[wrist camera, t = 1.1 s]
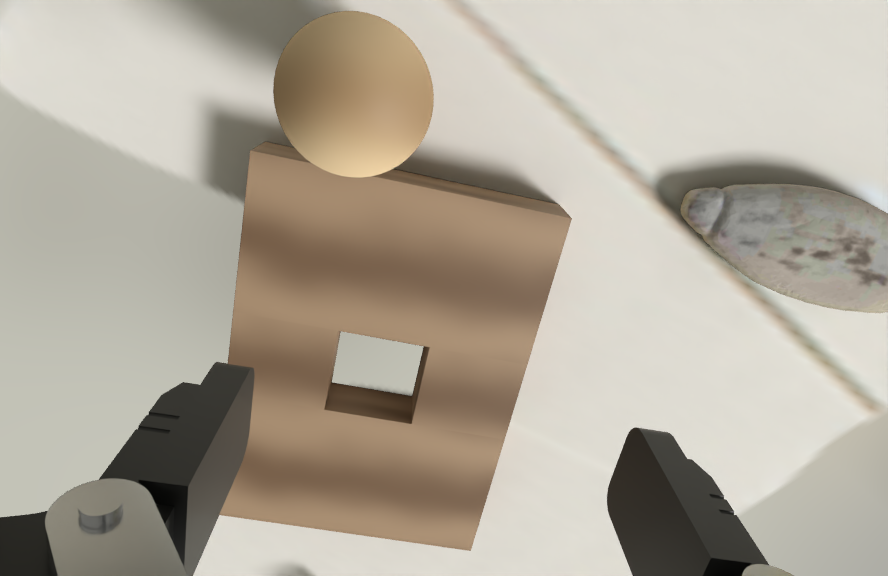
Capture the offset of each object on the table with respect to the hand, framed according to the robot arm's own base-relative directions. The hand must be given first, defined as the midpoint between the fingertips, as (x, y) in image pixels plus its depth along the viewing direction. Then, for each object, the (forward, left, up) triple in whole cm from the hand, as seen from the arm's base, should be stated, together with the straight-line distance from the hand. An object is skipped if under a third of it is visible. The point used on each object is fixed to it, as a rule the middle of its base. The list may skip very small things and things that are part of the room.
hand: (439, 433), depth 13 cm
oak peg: (-5, -4, -22) cm, 23 cm away
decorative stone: (-2, +21, -22) cm, 31 cm away
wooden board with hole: (+10, -1, -22) cm, 24 cm away
